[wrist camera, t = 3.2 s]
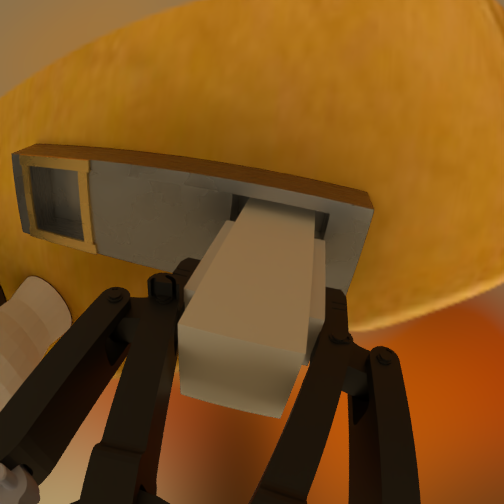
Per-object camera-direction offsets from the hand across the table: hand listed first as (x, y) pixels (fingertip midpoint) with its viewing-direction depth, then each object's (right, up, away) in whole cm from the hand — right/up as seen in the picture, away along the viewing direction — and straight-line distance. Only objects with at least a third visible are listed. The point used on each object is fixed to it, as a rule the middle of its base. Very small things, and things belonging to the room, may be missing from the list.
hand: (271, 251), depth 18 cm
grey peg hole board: (-7, +3, +4) cm, 9 cm away
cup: (-25, -6, +13) cm, 29 cm away
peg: (+1, +2, +3) cm, 3 cm away
